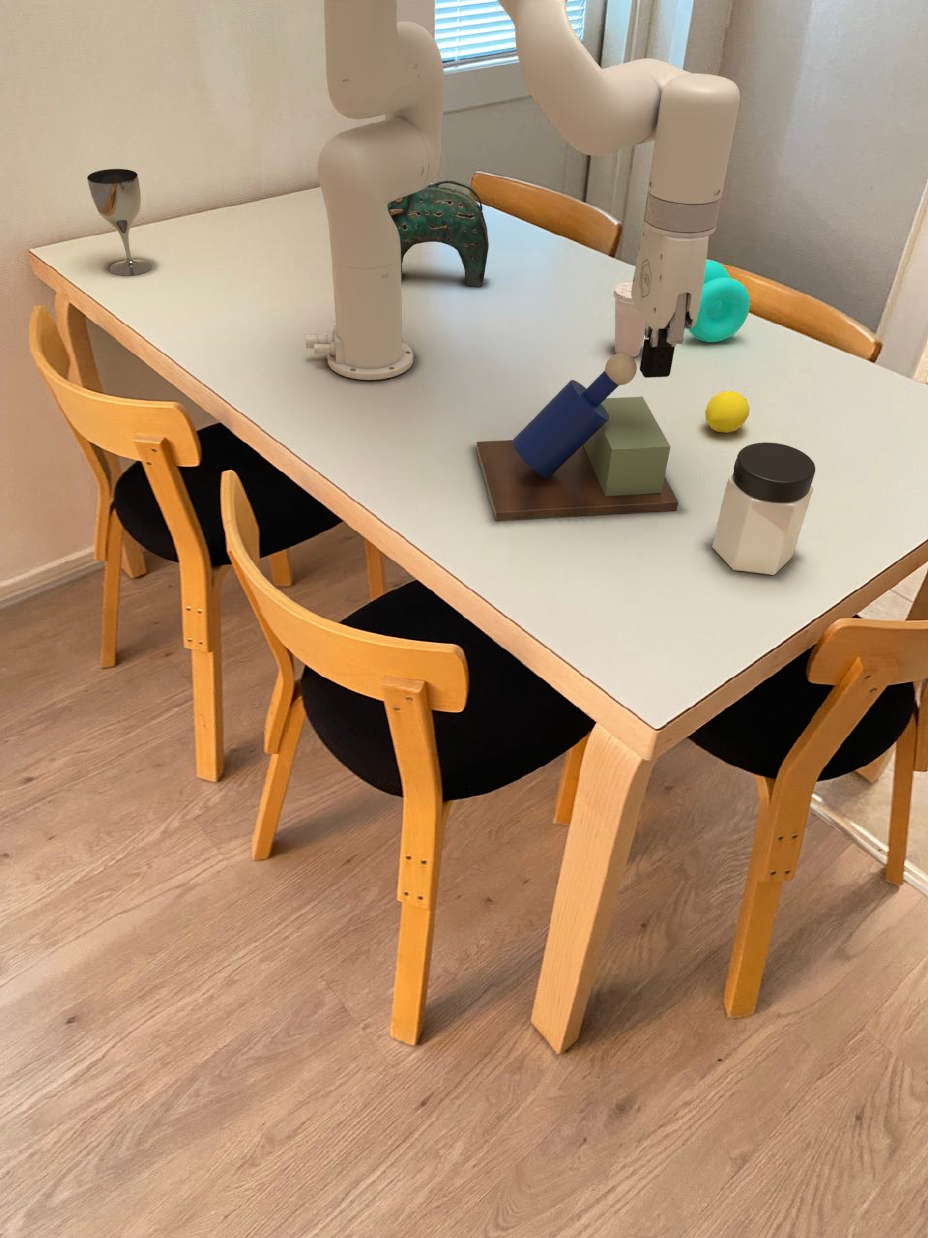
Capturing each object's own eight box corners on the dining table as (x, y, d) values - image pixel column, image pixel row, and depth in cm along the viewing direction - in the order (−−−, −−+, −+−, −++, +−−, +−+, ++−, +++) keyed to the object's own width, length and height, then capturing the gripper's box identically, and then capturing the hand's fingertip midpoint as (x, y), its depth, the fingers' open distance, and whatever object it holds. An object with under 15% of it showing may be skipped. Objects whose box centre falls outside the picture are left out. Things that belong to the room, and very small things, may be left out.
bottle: (515, 487, 117) (524, 370, 107) (506, 459, 122) (514, 345, 112) (626, 482, 118) (645, 366, 108) (613, 454, 123) (630, 341, 113)
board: (495, 520, 114) (496, 512, 113) (476, 449, 126) (476, 441, 125) (677, 510, 116) (678, 502, 115) (641, 441, 128) (642, 433, 127)
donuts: (685, 347, 150) (696, 284, 143) (661, 320, 157) (672, 258, 150) (745, 343, 151) (759, 280, 145) (719, 316, 159) (732, 255, 152)
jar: (737, 521, 115) (760, 431, 107) (802, 549, 111) (830, 458, 103) (699, 555, 109) (720, 464, 102) (765, 586, 106) (793, 493, 98)
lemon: (725, 446, 128) (733, 409, 124) (691, 430, 131) (698, 394, 127) (754, 428, 131) (763, 392, 128) (721, 413, 134) (729, 377, 131)
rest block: (605, 496, 116) (611, 449, 112) (582, 444, 125) (588, 398, 121) (661, 493, 117) (670, 446, 112) (635, 441, 126) (642, 396, 121)
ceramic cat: (369, 282, 166) (364, 157, 152) (376, 268, 170) (372, 145, 157) (485, 291, 164) (490, 165, 151) (488, 276, 169) (494, 153, 156)
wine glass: (164, 265, 169) (148, 174, 159) (129, 279, 164) (110, 186, 154) (132, 255, 172) (114, 165, 162) (97, 269, 167) (76, 177, 157)
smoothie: (646, 363, 145) (661, 270, 136) (604, 358, 146) (615, 266, 137) (649, 344, 150) (663, 254, 141) (607, 340, 151) (619, 249, 142)
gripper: (627, 188, 106) (607, 346, 118) (667, 238, 95) (640, 407, 107) (693, 187, 107) (666, 344, 119) (741, 236, 96) (706, 404, 108)
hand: (654, 373), depth 113 cm, fingers closed
